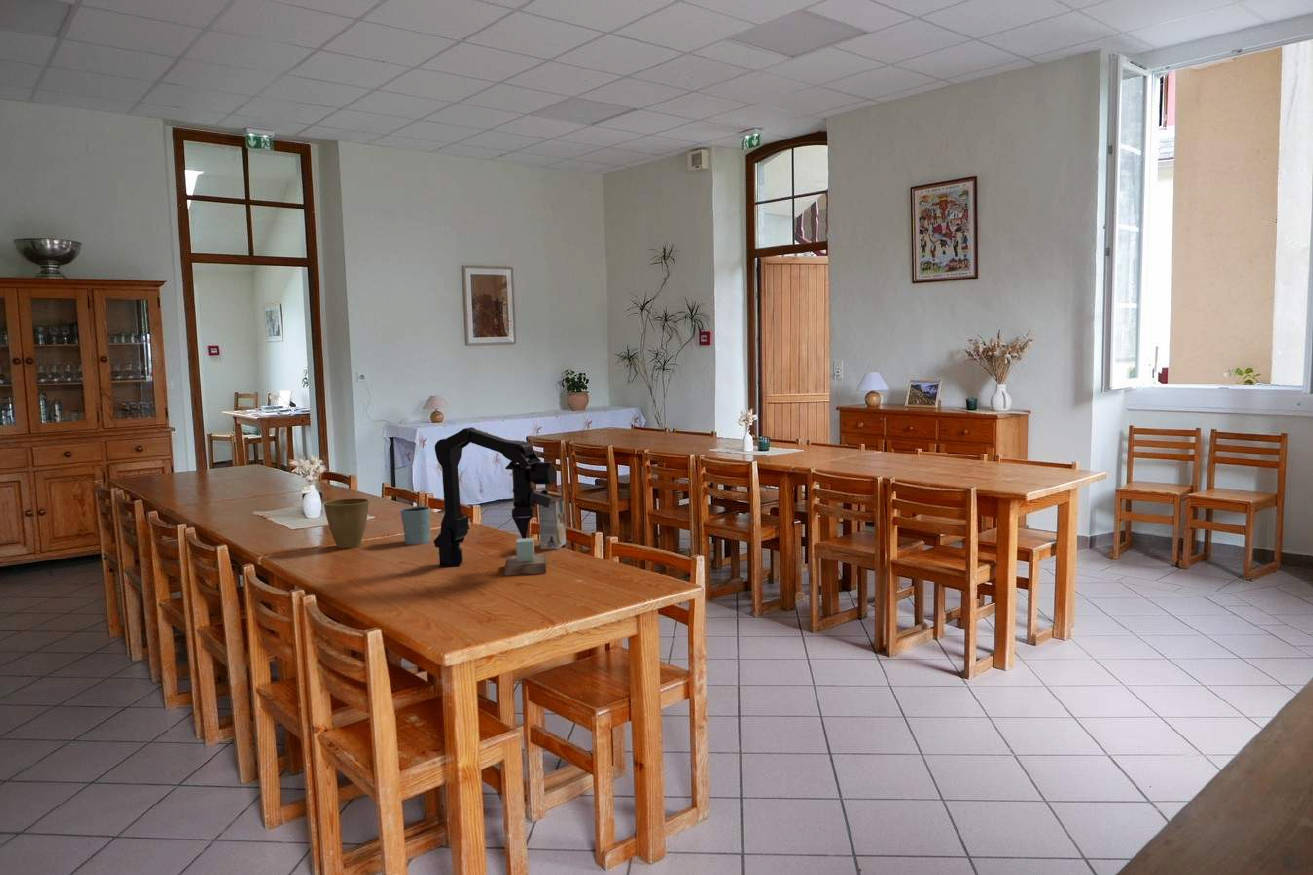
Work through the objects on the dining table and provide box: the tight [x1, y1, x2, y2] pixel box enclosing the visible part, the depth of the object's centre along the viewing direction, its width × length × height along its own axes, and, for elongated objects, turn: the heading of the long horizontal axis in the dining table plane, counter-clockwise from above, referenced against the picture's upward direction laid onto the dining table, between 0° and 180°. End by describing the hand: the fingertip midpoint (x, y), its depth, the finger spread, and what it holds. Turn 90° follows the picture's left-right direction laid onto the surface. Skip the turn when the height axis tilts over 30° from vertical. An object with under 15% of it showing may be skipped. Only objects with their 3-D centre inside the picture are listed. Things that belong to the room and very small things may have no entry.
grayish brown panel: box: [504, 553, 548, 576], centre depth 265 cm, size 12×12×3 cm
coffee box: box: [538, 496, 567, 550], centre depth 295 cm, size 9×6×16 cm
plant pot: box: [323, 497, 370, 549], centre depth 305 cm, size 15×15×16 cm
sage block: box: [515, 537, 535, 562], centre depth 264 cm, size 5×5×6 cm
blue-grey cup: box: [400, 506, 431, 546], centre depth 309 cm, size 10×10×12 cm
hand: (525, 535), depth 264 cm, fingers open, 9 cm apart
